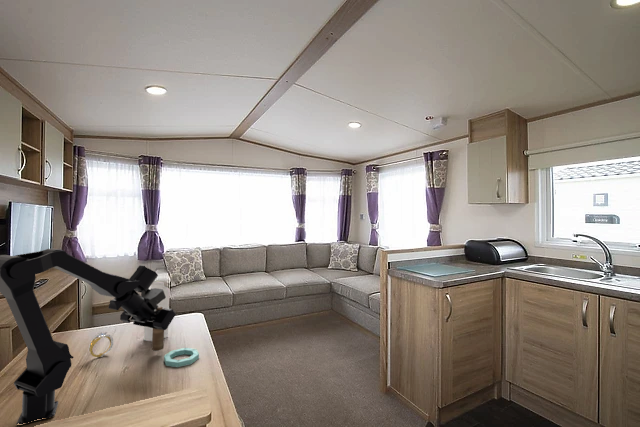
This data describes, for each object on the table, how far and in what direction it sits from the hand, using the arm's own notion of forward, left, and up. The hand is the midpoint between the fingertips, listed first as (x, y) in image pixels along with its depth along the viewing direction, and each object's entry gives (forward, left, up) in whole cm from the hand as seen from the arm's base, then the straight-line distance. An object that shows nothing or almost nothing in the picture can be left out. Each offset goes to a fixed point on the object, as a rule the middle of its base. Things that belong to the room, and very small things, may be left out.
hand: (161, 327), depth 106 cm
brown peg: (-1, +1, -7) cm, 7 cm away
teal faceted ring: (-8, -5, -9) cm, 13 cm away
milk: (+15, 0, -9) cm, 18 cm away
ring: (+7, +17, -9) cm, 21 cm away
